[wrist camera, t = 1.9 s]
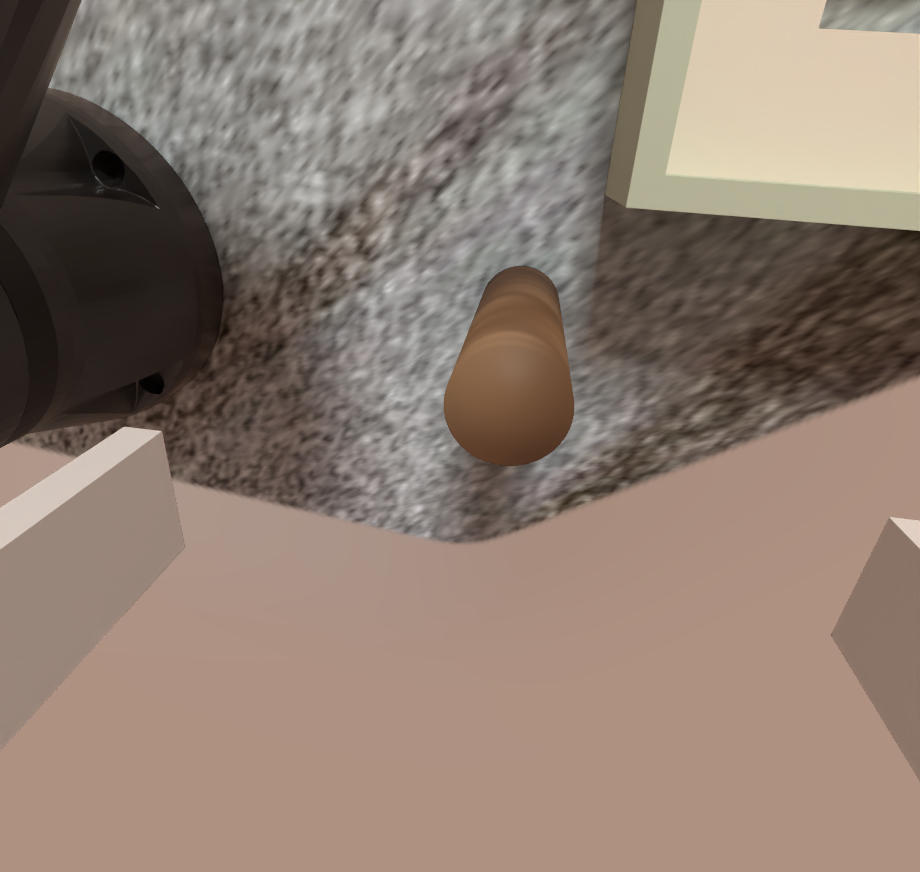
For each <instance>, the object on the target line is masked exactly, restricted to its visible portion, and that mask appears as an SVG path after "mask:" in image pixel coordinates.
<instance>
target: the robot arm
mask: <svg viewBox="0 0 920 872" xmlns="http://www.w3.org/2000/svg"><path fill="white" fill-rule="evenodd" d="M80 3H81V0H0V448H1V447H3V446H5V445H7V444H9V443H10V442H12V441H14V440H16V439H18V438H20V437H22V436H24V435H26V434H29V433H35V432H41V431H47V430H53V429H59V428H65V427H71V426H78V425H84V424H90V423H96V422H102V421H108V420H114V419H120V418H124V417H128V416H131V415H134V414H137V413H139V412H142V411H144V410H147V409H149V408H151V407H153V406H154V405H156V404H158V403H160V402H161V401H163V400H164V399H166V398H167V397H169V396H170V395H172V394H173V393H175V392H176V391H178V390H179V389H181V388H182V387H184V386H185V385H186V384H187V383H189V382H190V381H191V380H192V379H193V378H194V377H195V376H196V375H197V374H198V372H199V371H200V370H201V369H202V367H203V366H204V364H205V363H206V361H207V360H208V358H209V356H210V354H211V352H212V350H213V348H214V345H215V343H216V339H217V336H218V333H219V328H220V324H221V317H222V305H223V292H222V280H221V273H220V267H219V262H218V258H217V254H216V250H215V247H214V244H213V241H212V238H211V235H210V232H209V230H208V227H207V225H206V223H205V220H204V218H203V216H202V214H201V212H200V210H199V208H198V206H197V204H196V203H195V201H194V199H193V197H192V196H191V194H190V192H189V191H188V189H187V188H186V186H185V185H184V183H183V182H182V180H181V179H180V177H179V176H178V175H177V173H176V172H175V171H174V169H173V168H172V167H171V166H170V165H169V163H168V162H167V161H166V160H165V159H164V157H163V156H162V155H161V154H160V153H159V152H158V151H157V150H156V149H155V148H154V147H153V146H152V145H151V144H150V143H149V142H148V141H147V140H146V139H145V138H144V137H143V136H141V135H140V134H139V133H138V132H137V131H135V130H134V129H133V128H132V127H130V126H129V125H128V124H126V123H125V122H124V121H122V120H121V119H120V118H118V117H116V116H115V115H113V114H112V113H110V112H109V111H107V110H105V109H103V108H101V107H100V106H98V105H96V104H94V103H92V102H90V101H88V100H85V99H83V98H81V97H78V96H75V95H73V94H70V93H67V92H63V91H60V90H56V89H51V88H48V86H49V83H50V81H51V78H52V76H53V73H54V70H55V68H56V65H57V63H58V60H59V57H60V55H61V52H62V50H63V47H64V44H65V42H66V39H67V37H68V34H69V31H70V29H71V26H72V24H73V21H74V18H75V16H76V13H77V11H78V8H79V5H80ZM184 548H185V545H184V540H183V535H182V530H181V525H180V520H179V515H178V509H177V505H176V499H175V495H174V489H173V484H172V479H171V474H170V469H169V464H168V459H167V454H166V449H165V444H164V439H163V434H162V431H156V430H148V429H139V428H131V427H123V428H121V429H120V430H118V431H117V432H115V433H114V434H112V435H111V436H109V437H108V438H106V439H105V440H103V441H102V442H100V443H98V444H97V445H95V446H94V447H92V448H91V449H89V450H88V451H86V452H85V453H83V454H82V455H80V456H79V457H77V458H75V459H74V460H72V461H71V462H69V463H68V464H66V465H65V466H63V467H62V468H60V469H59V470H57V471H56V472H54V473H53V474H51V475H49V476H48V477H46V478H45V479H43V480H42V481H40V482H39V483H37V484H36V485H34V486H33V487H31V488H30V489H28V490H27V491H25V492H24V493H22V494H20V495H19V496H17V497H16V498H14V499H13V500H11V501H10V502H8V503H7V504H5V505H4V506H2V507H0V751H1V750H2V749H3V748H4V747H5V746H6V744H7V743H8V742H9V741H10V740H11V739H12V738H13V737H14V736H15V735H16V733H17V732H18V731H19V730H20V729H21V728H22V727H23V726H24V725H25V723H26V722H27V721H28V720H29V719H30V718H31V717H32V716H33V714H35V712H36V711H37V710H38V709H39V708H40V707H41V706H42V705H43V704H44V702H45V701H46V700H47V699H48V698H49V697H50V696H51V695H52V694H53V692H54V691H55V690H56V689H57V688H58V687H59V686H60V685H61V684H62V683H63V681H64V680H65V679H66V678H67V677H68V676H69V675H70V674H71V673H72V671H73V670H74V669H75V668H76V667H77V666H78V665H79V664H80V663H81V662H82V660H83V659H84V658H85V657H86V656H87V655H88V654H89V653H90V652H91V650H92V649H93V648H94V647H95V646H96V645H97V644H98V643H99V642H100V641H101V639H102V638H103V637H104V636H105V635H106V634H107V633H108V632H109V631H110V629H111V628H112V627H113V626H114V625H115V624H116V623H117V622H118V621H119V620H120V618H121V617H122V616H123V615H124V614H125V613H126V612H127V611H128V610H129V608H130V607H131V606H132V605H133V604H134V603H135V602H136V601H137V600H138V598H139V597H140V596H141V595H142V594H143V593H144V592H145V591H146V590H147V589H148V587H149V586H150V585H151V584H152V583H153V582H154V581H155V580H156V579H157V577H158V576H159V575H160V574H161V573H162V572H163V571H164V570H165V569H166V568H167V566H168V565H169V564H170V563H171V562H172V561H173V560H174V558H175V557H176V556H177V555H178V554H179V553H180V552H181V551H182V550H183V549H184ZM831 636H832V638H833V639H834V641H835V643H836V644H837V646H838V647H839V649H840V651H841V652H842V654H843V656H844V657H845V659H846V661H847V662H848V664H849V666H850V667H851V669H852V671H853V672H854V674H855V675H856V677H857V679H858V680H859V682H860V684H861V685H862V687H863V689H864V690H865V692H866V693H867V695H868V697H869V699H870V700H871V702H872V703H873V705H874V707H875V708H876V710H877V712H878V713H879V715H880V716H881V718H882V720H883V721H884V723H885V725H886V726H887V728H888V730H889V731H890V733H891V735H892V736H893V738H894V739H895V741H896V743H897V744H898V746H899V748H900V749H901V751H902V753H903V754H904V756H905V758H906V759H907V761H908V762H909V764H910V766H911V767H912V769H913V771H914V772H915V774H916V776H917V777H918V779H919V781H920V521H917V520H908V519H900V518H891V517H889V519H888V521H887V523H886V525H885V527H884V529H883V531H882V533H881V535H880V537H879V539H878V541H877V543H876V545H875V547H874V549H873V551H872V553H871V555H870V557H869V559H868V561H867V563H866V565H865V567H864V569H863V571H862V573H861V575H860V577H859V579H858V581H857V583H856V585H855V587H854V589H853V591H852V594H851V595H850V598H849V599H848V601H847V604H846V605H845V607H844V609H843V612H842V614H841V616H840V618H839V620H838V622H837V624H836V626H835V628H834V630H833V632H832V634H831Z"/></svg>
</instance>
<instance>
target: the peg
mask: <svg viewBox="0 0 920 872" xmlns="http://www.w3.org/2000/svg"><path fill="white" fill-rule="evenodd" d="M444 414H445V419H446V422H447V425H448V427H449V430H450V432H451V433H452V435H453V437H454V438H455V440H456V441H457V442H458V443H459V444H460V445H461V446H462V447H463V448H464V449H465V450H466V451H467V452H469V453H470V454H471V455H473V456H475V457H477V458H478V459H481V460H483V461H485V462H489V463H492V464H497V465H504V466H517V465H523V464H528V463H531V462H534V461H537V460H539V459H541V458H543V457H545V456H546V455H548V454H549V453H551V452H552V451H553V450H555V449H556V448H557V447H558V446H559V445H560V443H561V442H562V441H563V440H564V438H565V437H566V435H567V433H568V431H569V429H570V427H571V424H572V420H573V416H574V398H573V391H572V384H571V378H570V371H569V364H568V357H567V350H566V344H565V337H564V330H563V323H562V316H561V310H560V303H559V297H558V293H557V290H556V288H555V286H554V284H553V282H552V281H551V280H550V279H549V277H548V276H546V275H545V274H544V273H543V272H541V271H539V270H537V269H535V268H532V267H527V266H515V267H510V268H507V269H505V270H503V271H501V272H499V273H498V274H497V275H495V276H494V277H493V278H492V279H491V281H490V282H489V283H488V285H487V286H486V288H485V291H484V293H483V296H482V298H481V301H480V303H479V306H478V308H477V311H476V314H475V316H474V319H473V321H472V324H471V326H470V329H469V331H468V334H467V337H466V339H465V342H464V344H463V347H462V349H461V352H460V354H459V357H458V360H457V362H456V365H455V367H454V370H453V372H452V375H451V378H450V380H449V383H448V385H447V388H446V392H445V396H444Z"/></svg>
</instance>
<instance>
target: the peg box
mask: <svg viewBox="0 0 920 872" xmlns="http://www.w3.org/2000/svg"><path fill="white" fill-rule="evenodd" d="M825 4H826V0H637V4H636V10H635V16H634V22H633V28H632V34H631V40H630V46H629V52H628V58H627V64H626V70H625V76H624V82H623V88H622V94H621V100H620V106H619V112H618V117H617V123H616V129H615V135H614V141H613V147H612V153H611V159H610V165H609V171H608V177H607V183H606V189H605V195H606V196H608V197H609V198H611V199H613V200H614V201H616V202H618V203H619V204H621V205H623V206H624V207H626V208H638V209H651V210H664V211H676V212H689V213H701V214H714V215H727V216H739V217H752V218H764V219H777V220H790V221H802V222H815V223H828V224H840V225H853V226H865V227H878V228H891V229H903V230H916V231H920V34H911V33H892V32H873V31H854V30H835V29H818V28H819V24H820V21H821V18H822V14H823V11H824V7H825Z"/></svg>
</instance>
